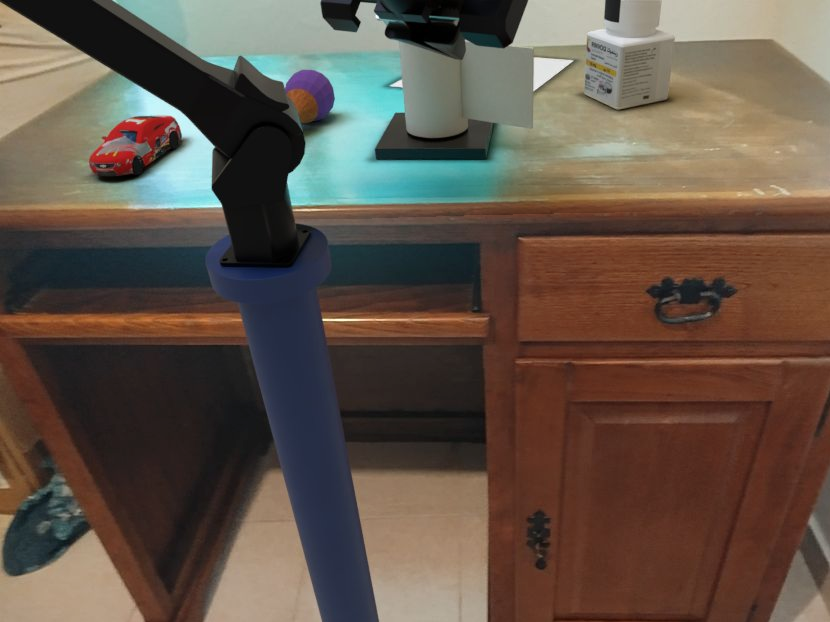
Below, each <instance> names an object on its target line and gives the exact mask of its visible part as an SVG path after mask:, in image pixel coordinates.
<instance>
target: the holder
mask: <svg viewBox="0 0 830 622" xmlns="http://www.w3.org/2000/svg"><path fill="white" fill-rule="evenodd" d="M392 116H393V117H391V119H390V121H389V122H388V124H387V127H386V128H385V130H384V132H383V133H382V135H381V137H380V139H379V140H378V142H377V144H376V146H374V147H375V148H374V155H375V159H376V160H486V159H487V156H488V152H489V147H490V143H491V142H490V141H491V138H492V133H493V129H494V124H495V123H492V122H486V121H479V120H473V119H468V128H467V129H466V130H465V131H464V132H462V133H460V134H457V135H454V136H449V137H443V138H423V137H417V136H414V135H411V134H410V133H408V132H407V130H406V120H405V112H395V113H394V114H393V115H392Z"/></svg>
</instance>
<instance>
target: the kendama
mask: <svg viewBox="0 0 830 622" xmlns="http://www.w3.org/2000/svg"><path fill="white" fill-rule="evenodd" d="M284 87H285V91H286V95H287V96H288V97H289V98H290V99H291V100H292V102H293V103H294V105H295V107H296V109H297V112H298V116H299V119H300V123H301V124H309V123H312V122H318V121H320V120H322V119H325V118H326V117H327V116H328V114H329V113H330V112H331V111H332V109H333V108H334V105H335V101H336V96H335V91H334V87H333V85H332V83H331V81H330V80H329V78H328V77H326V76H325V74H324V73H322V72H320V71H317V70H314V69H301V70H298V71H296V72H294V73H293V74H292V75H291V76H290V77H289V79H288V80H287V82H286V83H285V85H284Z"/></svg>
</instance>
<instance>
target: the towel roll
mask: <svg viewBox="0 0 830 622" xmlns="http://www.w3.org/2000/svg"><path fill="white" fill-rule="evenodd" d="M397 42H398V51H399V52H398V53H399V62H400V73H401V74H400V75H401V79H402V86H403V88H402V95H403V96H402V97H403V106H404V113H405V120H406V130H407V132H408V133H410V134H411V135H414V136H417V137H423V138H443V137H449V136H454V135H457V134H460V133H462V132H464V131H465V130H466V129H467V128H468V119H473V120H479V121H486V122H492V123H494V124H500V125H504V126H512V127H517V128H524V129H533V128H534V92H533V87H534V57H535V47H532V46H531V47H530V46H522V45H514V44H513V45H512V44H510V45H509V46H507V47H506V48H504V49H503V48H494V47H485V46H477V45H475V44H473V43H471V42H469V41H465V45H466V52H465V55H464V57H463V60H457V59H453V58H450V57H447V56H444V55H441V54H438V53H435V52H432V51H429V50H426V49H423V48H420V47H416V46H413V45H410V44H407V43H403V42H400V41H397Z"/></svg>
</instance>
